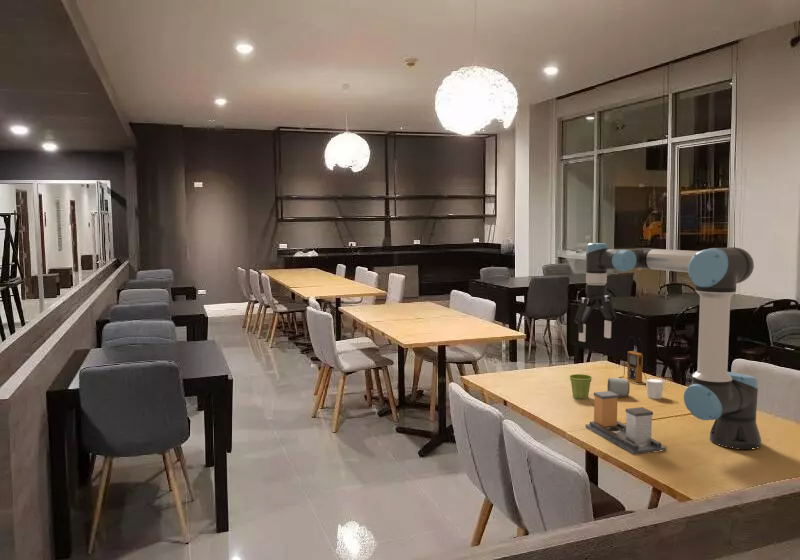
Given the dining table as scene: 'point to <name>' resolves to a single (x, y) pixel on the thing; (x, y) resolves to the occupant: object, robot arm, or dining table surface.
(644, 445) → the gray canister tray
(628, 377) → the multimeter
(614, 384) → the ceramic mug
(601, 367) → the dining table surface
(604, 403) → the orange tall block
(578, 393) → the plant pot
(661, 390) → the tan white cylinder
